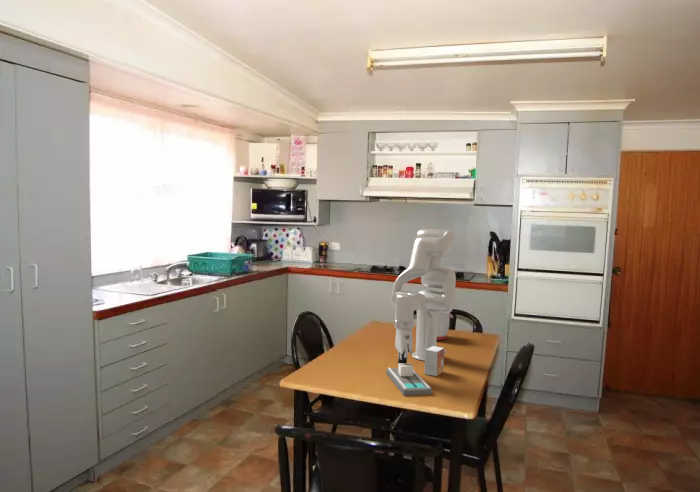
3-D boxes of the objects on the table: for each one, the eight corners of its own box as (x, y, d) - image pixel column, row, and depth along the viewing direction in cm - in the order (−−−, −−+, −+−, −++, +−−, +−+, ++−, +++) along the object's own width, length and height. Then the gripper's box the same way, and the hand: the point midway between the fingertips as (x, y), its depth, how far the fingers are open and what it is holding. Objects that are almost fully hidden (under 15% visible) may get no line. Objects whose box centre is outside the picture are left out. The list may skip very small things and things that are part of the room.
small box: (436, 376, 202) (437, 351, 201) (423, 374, 205) (425, 349, 204) (443, 371, 209) (444, 347, 208) (431, 369, 212) (432, 345, 211)
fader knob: (409, 372, 199) (410, 362, 198) (412, 376, 195) (413, 366, 194) (397, 373, 198) (398, 363, 197) (400, 376, 194) (401, 366, 194)
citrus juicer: (454, 342, 258) (456, 305, 256) (422, 341, 258) (423, 303, 257) (449, 335, 273) (450, 299, 272) (418, 334, 274) (419, 298, 272)
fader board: (411, 372, 206) (411, 366, 206) (431, 394, 182) (432, 387, 182) (386, 373, 204) (386, 367, 204) (403, 395, 180) (403, 388, 180)
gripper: (418, 328, 192) (416, 374, 194) (407, 320, 207) (405, 362, 208) (400, 328, 191) (398, 374, 192) (390, 320, 206) (388, 363, 207)
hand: (402, 368), depth 200 cm, fingers closed
